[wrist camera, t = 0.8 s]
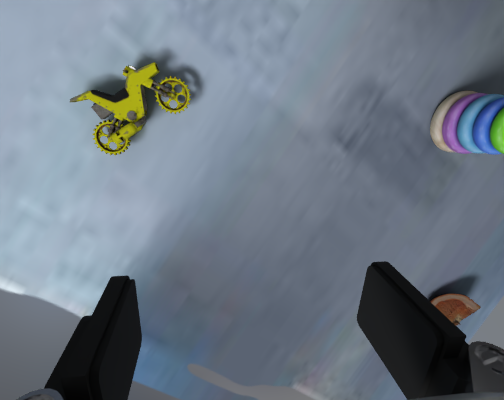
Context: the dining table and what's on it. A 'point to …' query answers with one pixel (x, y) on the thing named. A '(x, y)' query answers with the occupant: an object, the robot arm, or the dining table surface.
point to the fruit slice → (455, 306)
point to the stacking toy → (469, 123)
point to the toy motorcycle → (131, 105)
